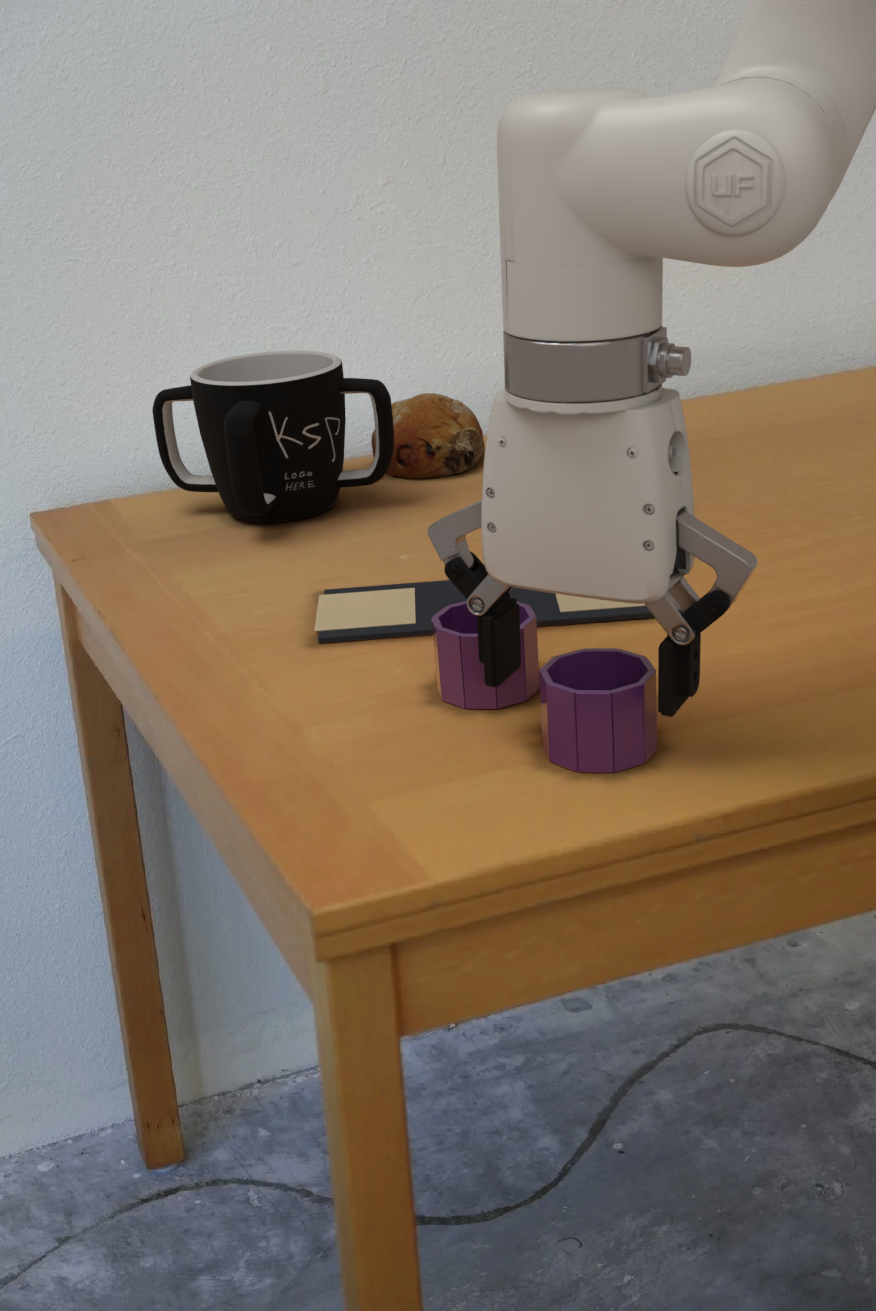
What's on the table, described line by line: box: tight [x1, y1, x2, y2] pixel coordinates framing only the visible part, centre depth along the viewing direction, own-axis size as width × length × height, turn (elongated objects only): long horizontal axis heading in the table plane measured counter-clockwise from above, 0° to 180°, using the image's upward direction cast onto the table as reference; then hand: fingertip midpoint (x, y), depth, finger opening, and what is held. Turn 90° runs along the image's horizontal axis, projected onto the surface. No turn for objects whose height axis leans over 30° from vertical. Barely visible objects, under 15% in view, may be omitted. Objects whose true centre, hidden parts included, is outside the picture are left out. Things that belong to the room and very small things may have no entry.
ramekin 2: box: [539, 647, 658, 774], centre depth 77 cm, size 6×6×4 cm
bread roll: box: [370, 392, 486, 480], centre depth 131 cm, size 10×10×8 cm
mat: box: [313, 579, 656, 644], centre depth 99 cm, size 23×9×1 cm, turn 92°
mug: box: [152, 349, 394, 523], centre depth 120 cm, size 16×16×12 cm
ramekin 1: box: [432, 601, 540, 710], centre depth 86 cm, size 6×6×4 cm
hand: (586, 691), depth 77 cm, fingers open, 9 cm apart
